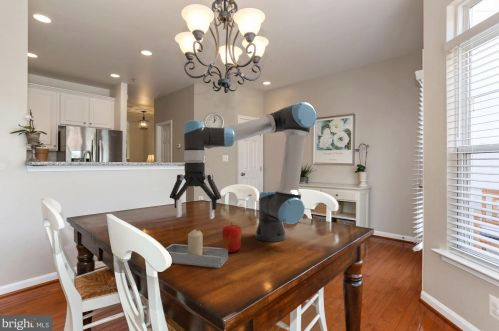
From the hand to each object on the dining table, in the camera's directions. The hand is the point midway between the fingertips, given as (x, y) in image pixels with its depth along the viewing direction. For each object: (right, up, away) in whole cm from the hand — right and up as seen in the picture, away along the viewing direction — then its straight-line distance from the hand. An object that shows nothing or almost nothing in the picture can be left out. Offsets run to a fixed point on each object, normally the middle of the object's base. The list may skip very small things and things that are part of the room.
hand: (195, 217), depth 98 cm
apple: (+13, -16, +10) cm, 23 cm away
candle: (0, -15, +1) cm, 15 cm away
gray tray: (0, -16, 0) cm, 16 cm away
